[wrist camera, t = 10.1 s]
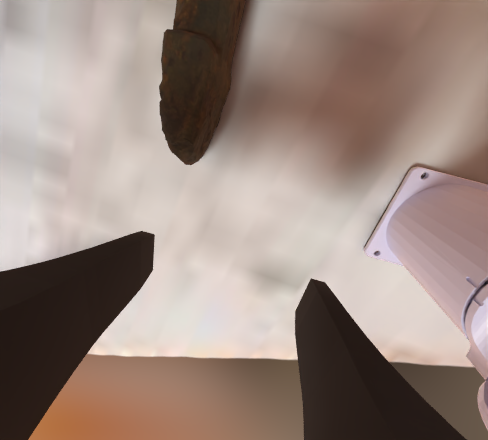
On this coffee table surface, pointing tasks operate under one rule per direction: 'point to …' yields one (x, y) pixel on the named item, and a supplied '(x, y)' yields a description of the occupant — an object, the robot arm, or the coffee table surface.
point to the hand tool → (197, 73)
